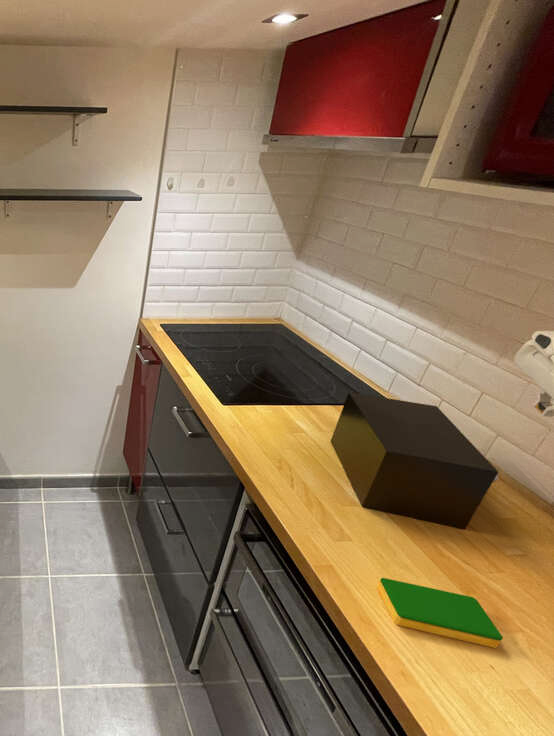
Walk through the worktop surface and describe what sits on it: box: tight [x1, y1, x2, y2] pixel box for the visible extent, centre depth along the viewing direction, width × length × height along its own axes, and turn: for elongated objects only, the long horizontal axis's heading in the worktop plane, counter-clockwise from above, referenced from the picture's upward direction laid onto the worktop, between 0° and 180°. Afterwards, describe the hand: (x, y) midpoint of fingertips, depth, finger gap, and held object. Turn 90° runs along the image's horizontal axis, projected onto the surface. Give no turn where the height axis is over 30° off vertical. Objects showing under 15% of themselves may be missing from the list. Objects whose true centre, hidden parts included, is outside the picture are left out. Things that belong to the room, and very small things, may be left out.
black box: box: [330, 391, 499, 531], centre depth 100 cm, size 20×24×15 cm
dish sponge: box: [376, 577, 504, 649], centre depth 73 cm, size 7×14×2 cm, turn 75°
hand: (542, 411), depth 90 cm, fingers closed
